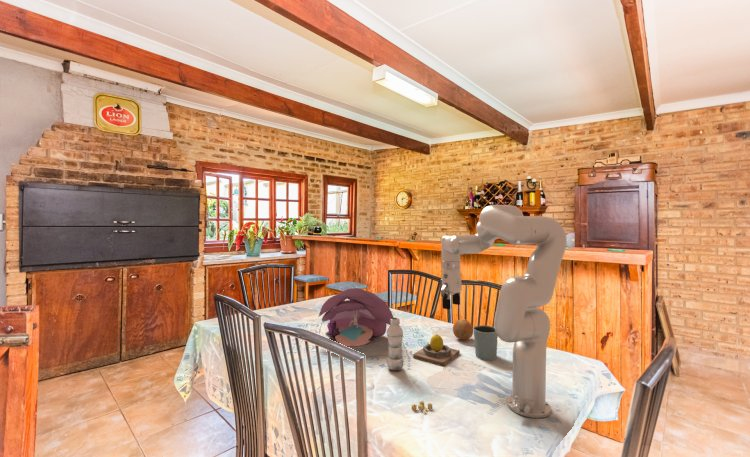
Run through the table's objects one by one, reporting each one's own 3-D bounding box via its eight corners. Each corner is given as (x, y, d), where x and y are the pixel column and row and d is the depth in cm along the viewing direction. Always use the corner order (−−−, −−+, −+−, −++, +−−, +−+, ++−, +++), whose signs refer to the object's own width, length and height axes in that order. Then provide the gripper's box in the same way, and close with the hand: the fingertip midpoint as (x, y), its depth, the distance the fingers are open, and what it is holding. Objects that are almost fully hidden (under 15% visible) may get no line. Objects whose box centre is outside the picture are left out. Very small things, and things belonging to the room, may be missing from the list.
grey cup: (499, 362, 145) (499, 333, 144) (474, 360, 147) (474, 331, 146) (496, 352, 155) (496, 325, 154) (472, 351, 157) (472, 324, 156)
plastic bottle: (389, 373, 134) (389, 322, 133) (384, 366, 140) (384, 317, 140) (405, 371, 135) (405, 320, 135) (399, 364, 142) (399, 315, 141)
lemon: (434, 349, 155) (434, 331, 154) (445, 352, 151) (445, 333, 151) (427, 352, 150) (427, 334, 150) (439, 356, 147) (439, 337, 147)
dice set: (410, 411, 109) (410, 405, 109) (420, 404, 113) (420, 399, 113) (424, 417, 106) (424, 411, 105) (433, 410, 109) (433, 404, 109)
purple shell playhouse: (325, 359, 159) (320, 303, 152) (317, 333, 181) (312, 283, 174) (397, 344, 169) (395, 290, 162) (381, 321, 191) (379, 272, 184)
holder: (443, 366, 141) (443, 358, 140) (413, 357, 149) (413, 350, 149) (459, 353, 153) (459, 346, 153) (430, 346, 162) (431, 339, 162)
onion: (471, 336, 176) (471, 316, 176) (474, 343, 166) (475, 322, 166) (451, 335, 177) (451, 316, 176) (454, 342, 167) (454, 322, 167)
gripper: (450, 267, 136) (451, 311, 136) (467, 263, 150) (468, 303, 149) (433, 266, 140) (433, 309, 140) (451, 262, 154) (451, 301, 154)
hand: (451, 306), depth 145 cm, fingers open, 9 cm apart
